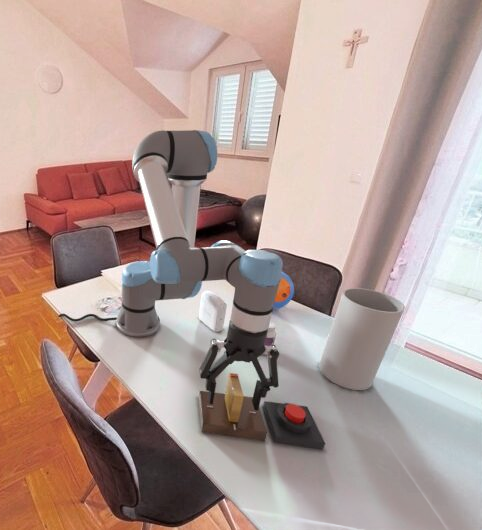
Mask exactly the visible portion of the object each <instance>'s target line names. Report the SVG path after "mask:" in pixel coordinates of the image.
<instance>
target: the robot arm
mask: <svg viewBox="0 0 482 530" xmlns="http://www.w3.org/2000/svg"><path fill="white" fill-rule="evenodd" d="M217 163H218V146H217V142H216V140H215V137H214V135H213V134H212V133H211V132H209V131H207V130H197V129H193V130H190V129H189V130H163V129H162V130H156V131H153V132H151V133H150V134H147V135H146V136H145V137H144V138H143V139H142V140H141V141H140V142H139V143H138V144H137V147H136V148H135V150H134V153H133V155H132V161H131V164H132V165H131V167H132V168H131V169H132V174H133V177H134V179H135V180H136V182H138V183H139V186H140V190H141V193H142V194H141V195H142V197H143V201H144V206H145V209H146V214H147V217H148V221H149V225H150V229H151V233H152V237H153V241H154V245H155V248H156V249H155V250H153V251H152V252H151V254H150V257H149V261H147V260H139V261H134V262H131V263H129V264H128V265H127V266H126V265H125V267H124V268H123V270H122V273H121V274H122V275H121V282H120V283H121V306H120V309H119V312H118V314H117V317H107V318H106V317H105V318H103V317H100V316H99V315H98V314H95V313H87V314H85V315H83V316H81V317H79V318H72V317H70V316H69V315H68V314H66V313H60V314H58V316H57V317H58V318H61V317H64V318H66V319H67V320H69V321H71V322H80V321H83V320H85V319H86V318H88V317H90V318H91V317H94V318H95V319H97V320H98V321H101V322H108V321H116V323H115V324H116V328H117V330H118V331H119V332H120V333H121V334H123V335H125V336H128V337H131V338H146V337H150V336H153V335H154V334H156V333H157V332H158V330H159V326H160V321H161V319H160V316H159V315H158V314H157V310H156V301H169V300H180V299H181V300H186V299H189V298H190V299H191V298H194V297H196V296H197V295H199V293H200V292H201V289H202V285H203V282H210V281H211V282H212V281H225V282H227V283H228V284H229V285H231V286H232V287H234V294H233V297H232V298H233V300H232V306H231V312H230V317H229V322H228V327H227V333H226V334H227V335H226V338H225V339H223V340H217V339H216V338H211V339H210V346H209V349H208V351H207V353H206V355H205V357H204V359H203V360H202V363H201V365H200V367H199V369H198V370H199V378H200V379H201V380H204V379H205V390H206V391H207V392H209V393H208V397H209V404H213V400H214V394H215V393H216V388H217V378H218V377H219V376H220V375H221V374H222V373H223V371H225V370H226V369H227V368H228V367H229V366H230V365H232V364H234V362H244V363H249V364H250V363H252V366H253V367H254V369H255V371H256V374H257V376H258V379H259V380H258V379H256V382H255V387H254V389H253V390H254V391H253V396H252V397H253V399H252V403H253V406H254V410H258V409H259V407H260V404H261V401H262V399H265V398H266V397H267V393H268V392H270V391H271V387H273V388H274V389H275V388H278V387H279V372H278V358H279V356H280V352H279V350H278V348H277V346H276V344H275V343H274V344H272V345H270V346H265V345H264V344H265V341H266V336H267V332H268V327H269V324H270V322H271V319H272V315H273V310H274V309H273V306H274V302H275V298H276V294H277V290H278V286H279V283H280V281H281V272H283V265H284V263H283V259H282V258H281V257H280V256H279V255H278V254H276V253H274V252H270V251H268V250H263V249H248V250H245V249H244V248H242V247H241V246H240V245H239V244H236V243H234V242H232V241H230V240H219V241H217V242H215V243H213V244H212V245H211V246H208V247H195V242H196V233H197V224H198V214H199V206H200V205H199V204H200V195H201V186H202V185H203V183H204V182H206V181H207V179H208V174H209V173H212V172H213V171H214V170H215V168H216V166H217ZM223 348H224V349H225V350H224V352H223V354H222V355H221V356H220V357H219V358H218V359H217V360H216V358H217V356H218V353H220V352H221V351H222V349H223ZM264 352H266V354H267V355H266V356H267V363H268V364H267V365H268V375H269V377H267V376H266V375H265V372H264V370H263V368H262V365H261V363H260V361H259V359H258V358H259V357H260V356H262V355H264V354H263V353H264Z"/></svg>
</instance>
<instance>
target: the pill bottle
mask: <svg viewBox="0 0 482 530" xmlns="http://www.w3.org/2000/svg"><path fill="white" fill-rule="evenodd" d="M276 338H277V332H276V324H275V323H273V322H271V321H270V324H269V327H268V332H267V336H266V341H265V344H264V345H265V346H270V345H272V344H274V345H275V341H276ZM262 355H264V356H265V355H266V356H267V354H266V352H264V353H263V354H262Z"/></svg>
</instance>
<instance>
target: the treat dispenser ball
mask: <svg viewBox="0 0 482 530" xmlns="http://www.w3.org/2000/svg"><path fill="white" fill-rule="evenodd" d="M294 285H295V284H294V282H293V281H292V279H291V277H290V276H289V275H288V274H286V273H285V272H284V271H282V272H281V281H280V283H279V286H278V290H277V294H276V298H275V302H274V306H273V310H277V309H280V308H283V307H286V306H287V305H288V304H289V303H290V302H291V300H292V299H293V297H294V294H295V286H294Z"/></svg>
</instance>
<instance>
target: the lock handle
mask: <svg viewBox="0 0 482 530" xmlns="http://www.w3.org/2000/svg"><path fill="white" fill-rule="evenodd" d="M224 394H225V403H226V408H227V413H228V418H229V421H231V422H238V420H239V416H240V411H241V407H242V403H243V398H244V396H245V395H244V392H243V388H242V385H241V381H240V377H239V374H238V373H233V372H229V373H228V377H227V383H226V388H225V393H224Z"/></svg>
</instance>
